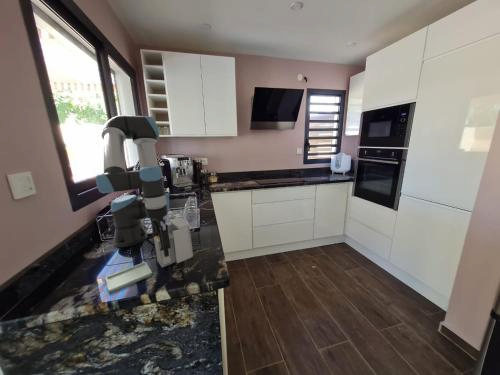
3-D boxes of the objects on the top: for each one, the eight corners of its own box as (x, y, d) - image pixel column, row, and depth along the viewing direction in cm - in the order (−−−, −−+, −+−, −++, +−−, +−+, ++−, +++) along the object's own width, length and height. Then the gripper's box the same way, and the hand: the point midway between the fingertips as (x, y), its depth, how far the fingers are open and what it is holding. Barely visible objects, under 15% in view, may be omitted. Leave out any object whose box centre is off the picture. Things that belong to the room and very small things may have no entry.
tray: (105, 279, 72) (105, 277, 72) (145, 264, 81) (145, 261, 80) (109, 293, 65) (108, 290, 65) (152, 275, 74) (152, 272, 73)
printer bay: (167, 252, 89) (163, 221, 85) (182, 247, 93) (178, 217, 90) (177, 263, 80) (172, 229, 77) (193, 256, 85) (189, 224, 82)
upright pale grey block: (157, 261, 82) (153, 236, 80) (180, 252, 89) (177, 229, 86) (162, 267, 78) (158, 241, 76) (186, 257, 84) (183, 233, 82)
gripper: (139, 203, 81) (148, 253, 86) (153, 214, 67) (162, 274, 72) (158, 199, 86) (165, 247, 91) (174, 209, 72) (182, 265, 77)
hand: (164, 259), depth 81 cm, fingers closed on upright pale grey block, 6 cm apart
